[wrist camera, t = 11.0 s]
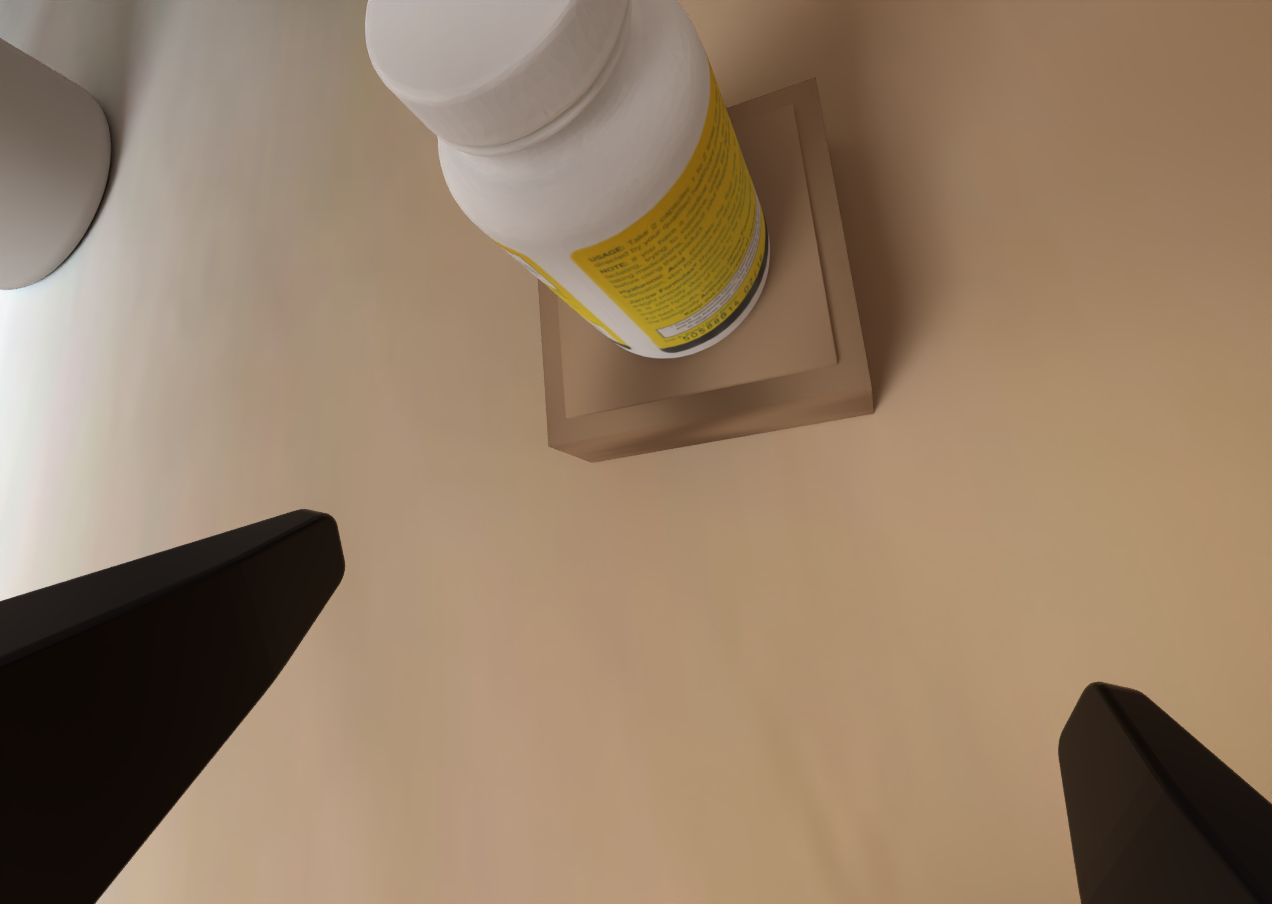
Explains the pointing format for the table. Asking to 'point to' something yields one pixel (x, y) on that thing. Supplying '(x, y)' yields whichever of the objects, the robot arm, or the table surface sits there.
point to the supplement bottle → (589, 155)
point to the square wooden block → (758, 348)
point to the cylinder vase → (46, 166)
